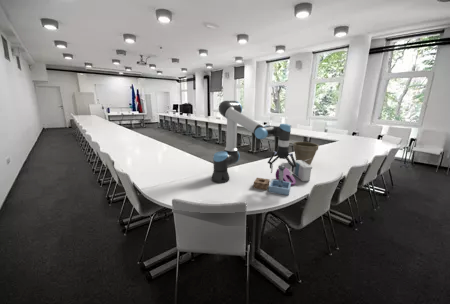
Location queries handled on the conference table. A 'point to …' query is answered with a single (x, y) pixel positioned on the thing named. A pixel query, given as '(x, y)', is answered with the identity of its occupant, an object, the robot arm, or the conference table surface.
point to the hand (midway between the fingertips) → (280, 174)
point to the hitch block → (261, 183)
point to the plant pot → (305, 151)
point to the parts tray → (275, 189)
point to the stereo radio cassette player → (302, 170)
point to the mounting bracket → (286, 176)
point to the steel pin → (281, 175)
